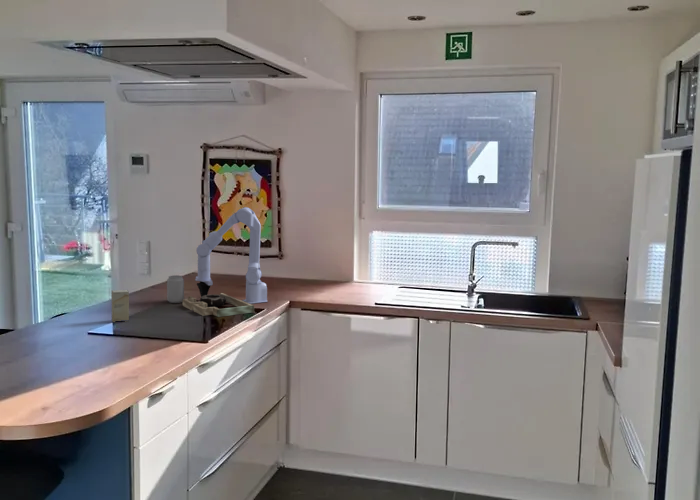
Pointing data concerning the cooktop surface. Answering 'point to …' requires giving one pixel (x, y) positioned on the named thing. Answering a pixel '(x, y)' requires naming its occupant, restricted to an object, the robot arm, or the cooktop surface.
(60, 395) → the cooktop surface
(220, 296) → the donut
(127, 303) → the skincare box
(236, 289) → the cooktop surface
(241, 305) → the beige square zigzag bar
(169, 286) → the can
